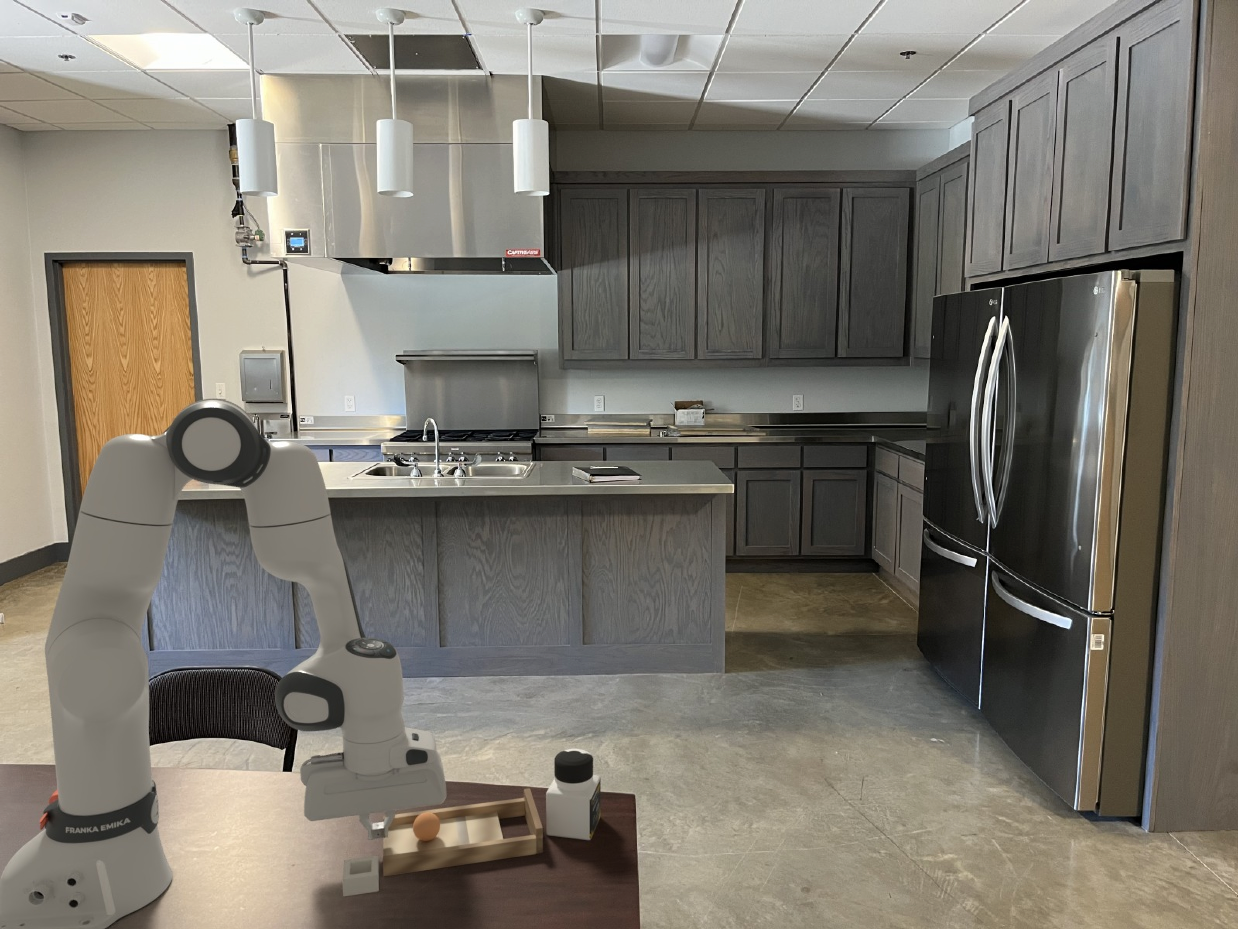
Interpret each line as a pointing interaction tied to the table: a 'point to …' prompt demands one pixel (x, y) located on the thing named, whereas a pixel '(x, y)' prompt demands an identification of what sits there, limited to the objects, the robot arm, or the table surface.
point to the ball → (426, 826)
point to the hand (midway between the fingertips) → (378, 837)
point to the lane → (461, 836)
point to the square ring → (360, 876)
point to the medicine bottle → (573, 796)
